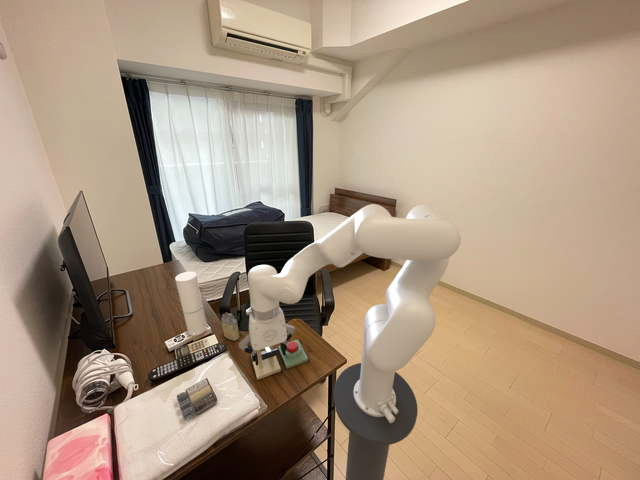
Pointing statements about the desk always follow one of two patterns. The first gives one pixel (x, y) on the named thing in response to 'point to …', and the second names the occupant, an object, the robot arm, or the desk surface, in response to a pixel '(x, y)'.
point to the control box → (294, 356)
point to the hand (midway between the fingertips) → (269, 356)
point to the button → (292, 347)
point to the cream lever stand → (266, 365)
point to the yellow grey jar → (230, 327)
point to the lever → (269, 353)
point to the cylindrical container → (191, 302)
